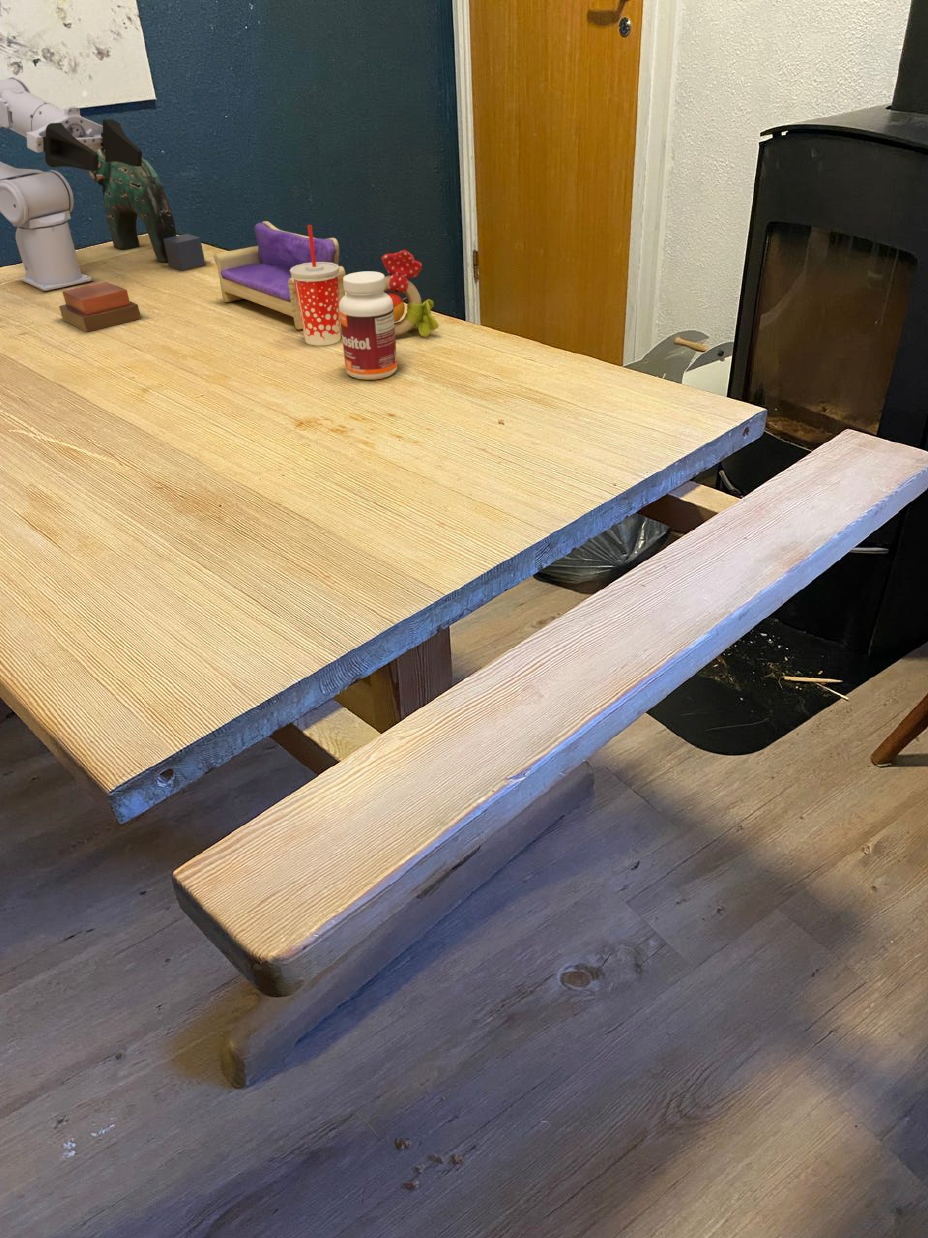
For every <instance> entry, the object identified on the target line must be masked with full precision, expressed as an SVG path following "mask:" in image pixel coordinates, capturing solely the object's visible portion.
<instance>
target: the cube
mask: <svg viewBox="0 0 928 1238" xmlns="http://www.w3.org/2000/svg"><path fill="white" fill-rule="evenodd" d="M164 244H165V249H166V253H167V258H168V262H167V263H168V266H169V267H170V268H172V269H176V270H179V271H181V272H183V271H188V270H192V269H196V268H200V267H205V266H206V260H205V255H204V250H203V244H202V239H201V237H200V236H197V235H192V234H190V233H183V234H179V235H176V236H174V237H169V238H164Z"/></svg>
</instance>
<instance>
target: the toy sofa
mask: <svg viewBox="0 0 928 1238" xmlns="http://www.w3.org/2000/svg"><path fill="white" fill-rule="evenodd" d="M254 234H255V239H256V242H257V243H256V244H257V245H256V246H255V245H254V246H249V247H245V248H239V249H233V250H227V251H223V252H217V253H214V254H213V261H214V263H215V264H216V267H217V268H216V269H217V272H218V278H219V284H220V291H221V296H222V300H223V302H224V303H229V302H234V301H235V302H236V301H239V300H243V299H245V300H248V301H250V302H253V303H255V304H258V305H261V306H264V307H266V308H269V309H271V310H273V311H277V312H280V313H282V314H285V315H287V316H290V317H292V318H293V322H294V323H293V324H294V327H295V329H297V330H303V326H302V321H301V316H300V311H299V305H298V300H297V295H296V290H295V285H294V279H293V278H292V277H291V273H290V269H291V268H292V267H294V266H296V265H300V264H304V263H312V258H311V250H310V242H309V235H308V236H307V235H303V234H298V233H294V232H290V231H286V230H285V231H284V230H282V229H279V228H278V227H276V226H275V225H273V224H272V223H271V222H269V221H267V220H265V221H262V222H258V223H256V224H255V226H254ZM313 242H314V251H315V259H316V262H328V263H334V264H337V265H338V266H339V275H338V289H339V303H340V300H341V299H342V298H343V297H344V296H345V295H346V292H345V291H344V285H343V277H344V276H346V270H345V268H344V266H342V265H339V259H340V245H339V241H338V239H337V238H335V237H329V238H318V237H313Z"/></svg>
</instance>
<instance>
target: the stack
mask: <svg viewBox="0 0 928 1238" xmlns="http://www.w3.org/2000/svg"><path fill="white" fill-rule="evenodd" d="M61 293H62V296H63V299H64V303H65V304H62V305H58V307H59V311H60V315H61V319H62V321H64V322H66V323H67V324H70V325H72V326H74V327H75V328H78V329H80V330H82V331H84V332H86V333H89V332H94V331H98V330H102V329H104V328H109V327H110V328H111V327H113V326H117V325H122V324H124V323H129V322H133V321H136V320H137V321H138V320H141V319H142V317H141V313H140V312H141V311H140V308H139V304H138V303H135V302H133V301H131V300H130V297H129V293H128V290H127V288H126V289H125V288H124V287H121V286H119V285H116V284H113V283H111V282H108V281H101V282H98V283H93V284H88V285H84V286H80V287H75V288H70V289H66V290H62V291H61Z"/></svg>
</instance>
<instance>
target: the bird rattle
mask: <svg viewBox="0 0 928 1238" xmlns="http://www.w3.org/2000/svg"><path fill="white" fill-rule="evenodd" d="M381 262H382V263H383V266H384V268H385V270H386V272H387V274H388V275H386V276H384V277H385V284H386V286H385V289H384V290H383V292H384V293H386V294H388V295H389V296H390V297H391V299H392V301H393V310H394V325H395V336H398V335H403V334H405V333H406V332H408V331H409V332H411V331H412V330H414V329H415V328H417V327H418V328H417V329H418V333H419V335H420V336H421V337H423V338H428V337H429V335H430V334H431V331H436V330H437V329H438V327H439V323H438V321H437V320H436V319H435V317H434V316H433V314H432V309H433V308H434V305H435V304H434V301H433V300H432V299H426V300H424V302H422V298H421V294H420V293H419V291H418V289H417V287H416V286H415V284H413V282H412V281H410V280H409V279H410V278H412V279H413V278H416V277H417V276H419V274H420V272H421V270H422V269H423V268H422V267H423V264H422V262H420V261H418V260H415V258H414V255H413V254H412V253H410V252H409V251H408V250H406V249H403V250H400V251H398V252H395V253H385V254H383V255H382V256H381ZM394 291H395V292H394ZM399 293H400V294H404V295H405V297H403V298H402V297H401V295H399ZM404 300H408V303H407V305H405V302H404ZM405 309H406V313H405ZM403 316H404V318H403ZM402 318H403V319H402Z"/></svg>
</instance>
